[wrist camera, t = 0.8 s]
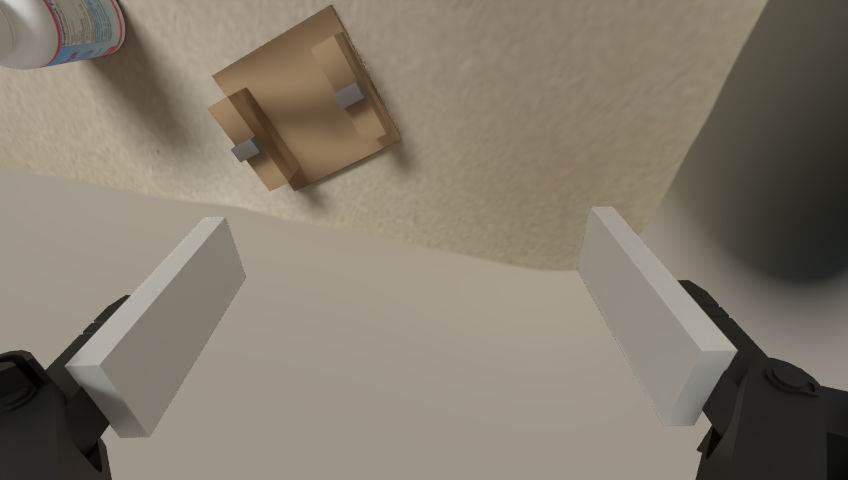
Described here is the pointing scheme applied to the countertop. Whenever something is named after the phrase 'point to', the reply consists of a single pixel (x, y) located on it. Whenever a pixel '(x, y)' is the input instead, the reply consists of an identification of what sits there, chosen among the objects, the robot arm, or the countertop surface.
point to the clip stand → (302, 105)
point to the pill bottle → (58, 31)
